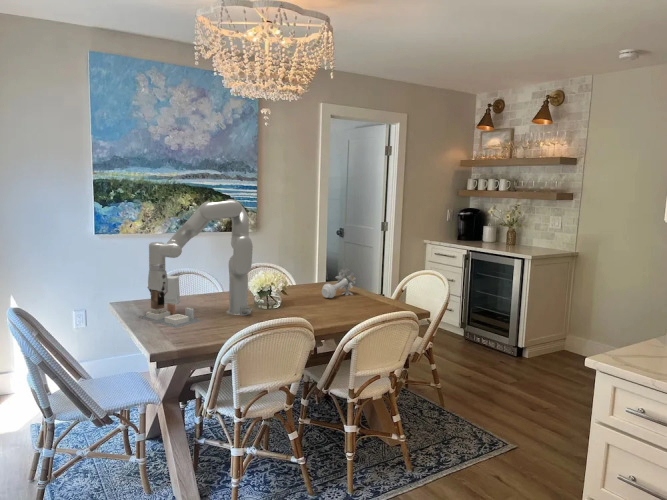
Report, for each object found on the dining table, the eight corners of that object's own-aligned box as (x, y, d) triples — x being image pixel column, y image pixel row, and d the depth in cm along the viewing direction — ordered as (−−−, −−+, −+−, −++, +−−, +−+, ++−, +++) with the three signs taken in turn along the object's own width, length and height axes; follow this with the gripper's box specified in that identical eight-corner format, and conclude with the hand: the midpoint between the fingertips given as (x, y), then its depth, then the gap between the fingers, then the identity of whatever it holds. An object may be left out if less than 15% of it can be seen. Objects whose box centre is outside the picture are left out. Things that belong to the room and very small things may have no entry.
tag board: (202, 322, 243) (202, 315, 243) (175, 329, 230) (175, 322, 230) (164, 312, 259) (164, 305, 259) (137, 318, 246) (137, 312, 245)
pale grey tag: (193, 318, 245) (193, 309, 244) (191, 319, 244) (191, 309, 243) (187, 317, 248) (187, 307, 247) (185, 318, 246) (185, 308, 246)
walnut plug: (164, 307, 247) (164, 290, 246) (156, 309, 243) (156, 291, 242) (158, 306, 249) (158, 288, 248) (151, 308, 246) (150, 290, 245)
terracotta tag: (175, 314, 253) (175, 304, 252) (172, 314, 252) (172, 305, 251) (169, 312, 255) (169, 303, 255) (167, 313, 254) (167, 303, 253)
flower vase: (332, 310, 299) (358, 294, 316) (332, 284, 291) (359, 268, 308) (317, 303, 307) (343, 287, 324) (316, 277, 299) (343, 262, 316)
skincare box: (180, 303, 280) (179, 275, 278) (176, 306, 273) (176, 278, 271) (165, 302, 279) (164, 275, 277) (161, 305, 273) (161, 277, 271)
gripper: (174, 268, 242) (175, 305, 245) (153, 264, 251) (153, 299, 254) (161, 270, 236) (162, 308, 238) (140, 266, 245) (140, 302, 248)
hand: (157, 303), depth 246 cm, fingers closed on walnut plug, 4 cm apart
